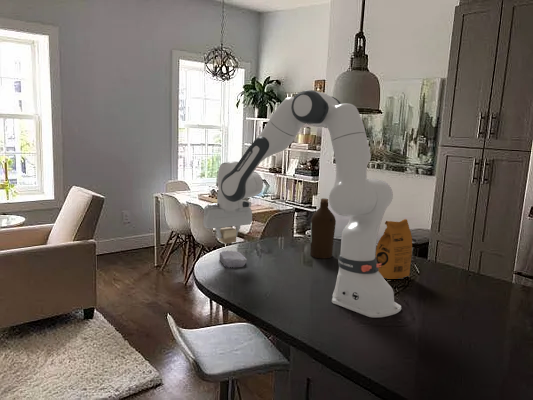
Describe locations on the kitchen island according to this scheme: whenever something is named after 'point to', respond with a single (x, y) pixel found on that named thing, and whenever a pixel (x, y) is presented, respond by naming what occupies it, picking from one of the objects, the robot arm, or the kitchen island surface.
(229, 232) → the maple block
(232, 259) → the stone block
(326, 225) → the olive oil
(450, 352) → the kitchen island surface
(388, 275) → the coffee package
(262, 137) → the robot arm
